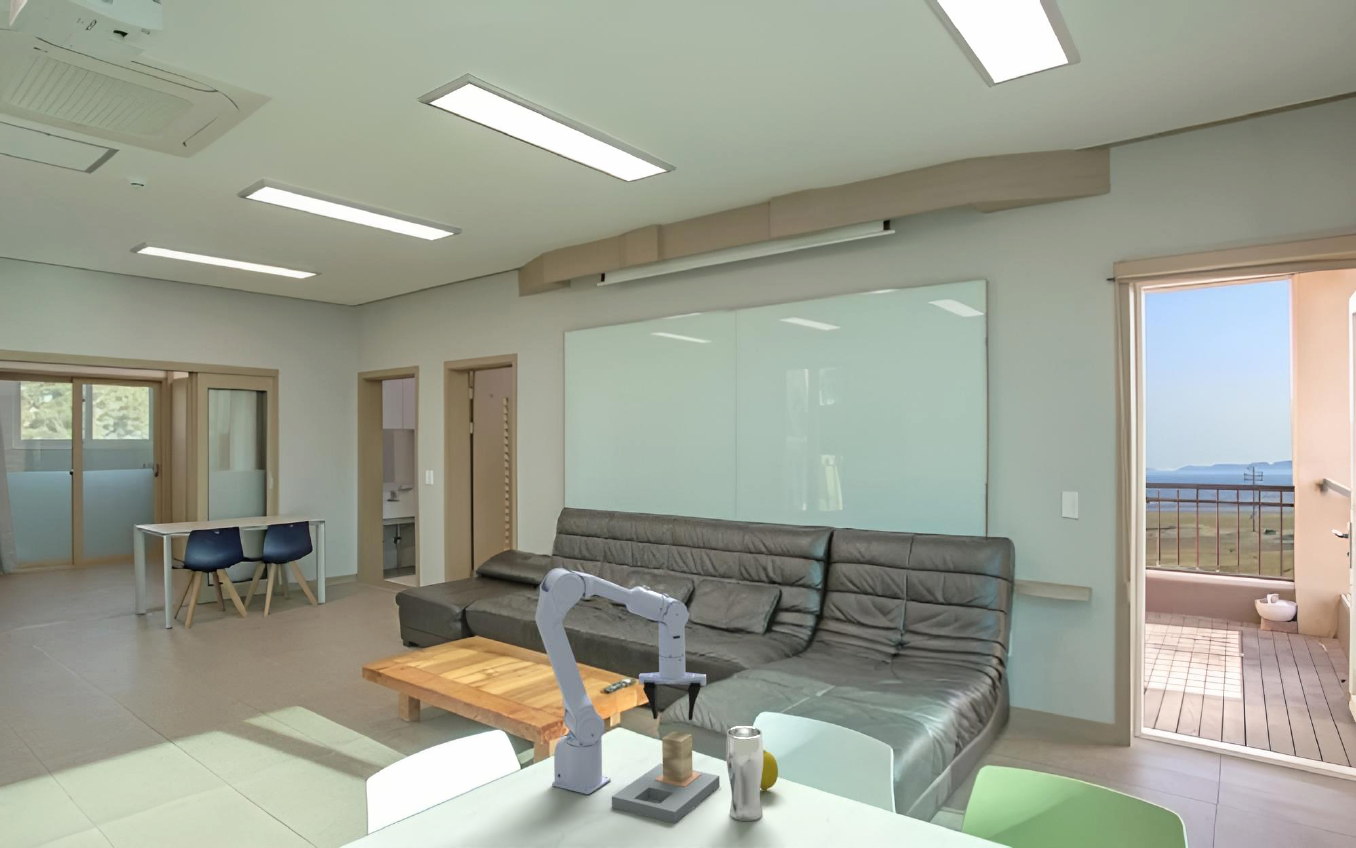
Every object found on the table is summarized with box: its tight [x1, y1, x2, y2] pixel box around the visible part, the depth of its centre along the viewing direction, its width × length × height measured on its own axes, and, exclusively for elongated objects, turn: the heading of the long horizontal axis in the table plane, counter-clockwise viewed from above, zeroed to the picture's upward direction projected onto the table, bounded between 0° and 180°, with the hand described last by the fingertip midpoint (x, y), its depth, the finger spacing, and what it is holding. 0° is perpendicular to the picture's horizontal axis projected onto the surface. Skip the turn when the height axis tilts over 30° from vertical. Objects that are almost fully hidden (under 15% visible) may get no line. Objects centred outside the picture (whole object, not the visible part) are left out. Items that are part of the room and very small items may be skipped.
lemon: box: [760, 749, 779, 792], centre depth 151 cm, size 6×6×8 cm
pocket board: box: [611, 762, 721, 824], centre depth 149 cm, size 14×18×2 cm
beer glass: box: [725, 725, 764, 823], centre depth 141 cm, size 7×7×15 cm
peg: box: [661, 731, 694, 783], centre depth 153 cm, size 4×4×8 cm
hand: (673, 718), depth 164 cm, fingers open, 7 cm apart
